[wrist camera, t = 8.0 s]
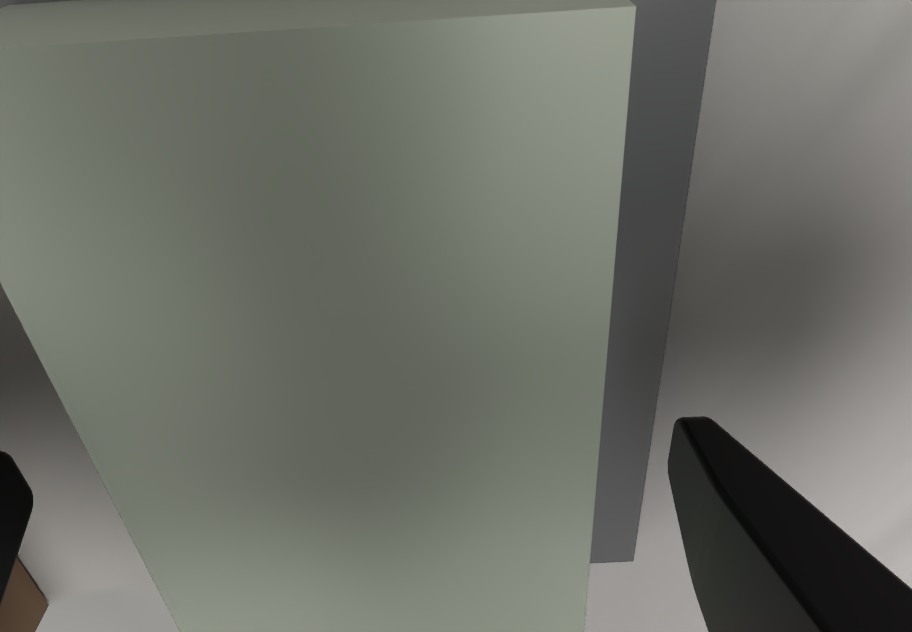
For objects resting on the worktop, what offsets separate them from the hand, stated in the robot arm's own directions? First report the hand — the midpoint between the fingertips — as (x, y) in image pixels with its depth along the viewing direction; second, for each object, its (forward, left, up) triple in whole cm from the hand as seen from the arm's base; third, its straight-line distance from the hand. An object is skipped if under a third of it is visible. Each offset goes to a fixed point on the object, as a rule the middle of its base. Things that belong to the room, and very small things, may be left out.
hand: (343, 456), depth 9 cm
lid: (0, 0, -2) cm, 2 cm away
